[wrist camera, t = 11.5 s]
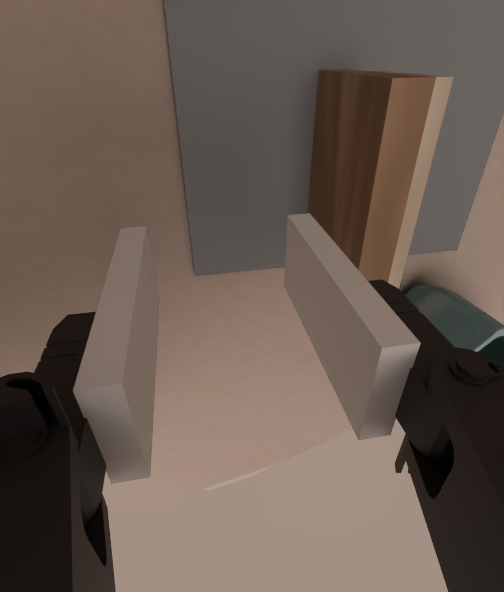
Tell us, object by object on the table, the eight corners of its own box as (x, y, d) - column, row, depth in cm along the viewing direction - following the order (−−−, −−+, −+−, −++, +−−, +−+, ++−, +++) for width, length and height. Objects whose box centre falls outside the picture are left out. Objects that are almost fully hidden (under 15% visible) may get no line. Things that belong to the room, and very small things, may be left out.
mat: (194, 271, 25) (194, 275, 25) (160, -33, 17) (159, -36, 16) (451, 246, 28) (456, 249, 28) (541, -25, 19) (550, -27, 19)
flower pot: (396, 367, 35) (455, 450, 28) (339, 330, 31) (390, 415, 24) (472, 305, 32) (559, 379, 25) (419, 255, 28) (506, 325, 21)
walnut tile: (305, 240, 25) (352, 306, 18) (318, 69, 19) (392, 78, 13) (338, 237, 25) (395, 301, 19) (360, 68, 20) (453, 76, 13)
